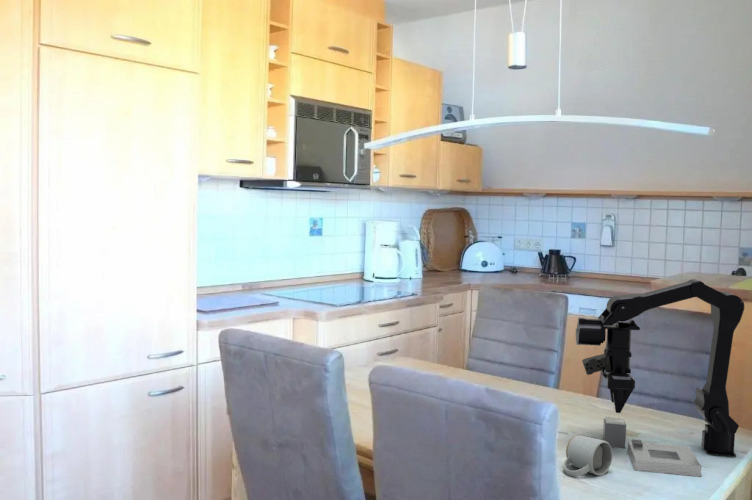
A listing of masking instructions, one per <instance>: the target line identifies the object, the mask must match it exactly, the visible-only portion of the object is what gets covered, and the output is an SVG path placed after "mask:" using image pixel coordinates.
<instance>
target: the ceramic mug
mask: <svg viewBox="0 0 752 500" xmlns="http://www.w3.org/2000/svg"><path fill="white" fill-rule="evenodd" d="M565 456H566V459H565V460H564V461H563V463H562V465H563V466H562V467H563V470H564V473H565V474H567V475H568V476H571V477H574V478H575V477H582V476H584V475H585V474H588V473H590V474H593V475H595V476H598V477H599V476H603V475H605V474H606V473H607V472H608V470H609V469H610V467H611V465H612V460H613V450H612V447H611V446H610V444H609V443H608V442H606V441H603V439H597V438H593V437H589V436H586V435H575V436H574V435H573V436H572V437H571V438H570V439H569V441H568V443H567V445H566V449H565ZM570 464H571V465H572V466H574V467H575V468H578V469H576V470H572V469H571V470H570V469H569V468H568V466H569V465H570Z"/></svg>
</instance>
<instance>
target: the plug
mask: <svg viewBox="0 0 752 500" xmlns="http://www.w3.org/2000/svg"><path fill="white" fill-rule="evenodd" d="M602 425H603V426H602V427H603V429H602V440H603V441H606V442H608V443H609V444H610V446H611V448H615V449H623V450H624V449H626V439H627V437H626V436H627V424H626V421H625V418H624V417H611V416H605V417H604V418H603V424H602Z"/></svg>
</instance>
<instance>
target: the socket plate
mask: <svg viewBox="0 0 752 500" xmlns="http://www.w3.org/2000/svg"><path fill="white" fill-rule="evenodd" d="M627 442H628V443H627V444H628V445H627V452H628V455H629V457H630V460H631V463H632V466H633V468H634V471H639V472H648V473H650V472H651V473H660V474H670V475H681V476H691V477H699V478H701V476H702V465H701V463H700V461H699V460H698V459H697V457H696V456H695V454H694V453H693V451H692V449H691V447H690V446H684V445H674V444H663V443H662V444H661V443H652V442H642V440H641V439H632V441H631V440H630V441H629V440H628V441H627Z"/></svg>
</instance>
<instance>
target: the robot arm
mask: <svg viewBox="0 0 752 500" xmlns="http://www.w3.org/2000/svg"><path fill="white" fill-rule="evenodd" d="M692 298H697V299H699V300H701V301H703V302H705V303H707V304H709V305H710V316H711V321H712V325H713V331H712V339H711V345H710V352H709V358H708V359H709V360H708V367H707V373H706V380H705V381H706V382H705V383H704V385H703V387H702V388H698V387H696V388H695V394H696V395H695V399H694V401H693V404H694V405H695V408H696V410H697V412H698V413H699V414H700V416H702V418H703V420H704V422H705V424H704V430H702V431H701V432H702V433H701V447H702V449H703V450H704V451H705V453H706V454H707V455H710V456H721V457H723V456H724V457H732V458H735V457H736V456H737V454H736V453H735V438H736V437H735V436H736V433H737V431H738V429H739V427H740V426H739V424H738V423H737V421H735V420H734V419H733V418H732V417H731V416H730V407H729V406H730V405H729V403H730V402H729V397H728V392H727V381H728V374H729V367H730V366H729V365H730V360H731V354H732V346H733V339H734V333H735V331H736V329H737V327H738V326H739V324H740V322H741V321H742V317H743V314H744V311H745V303H744V302H745V301H743V299H742V298H741V297H739V296H738V295H736V294H733V293H731V292H727V291H718V290H717V289H715V288H713V287H711V286H709V285H707V284H705V282H703V281H701V280H699V279H695V278H694V279H689V280H687V281H685V282H680V283H676V284H673V285H670V286H666V287H662V288H659V289H655V290H652V291H651V290H650V291H648V292H643V293H633V294H632V293H631V294H629V293H628V294H619V295H613V296H611V297H610V298H609V299H608V301H607V302H606V306H605V307H606V308H605V309H604V310H603V311H602V312H601V314H600V315H599V316H598V317H597V318H586V317H577V324H576V328H575V343H576V345H578V346H598V347H600V346H601V344H604V342H606V347H605V348H604V349H603V353H601V354H597V355H594V356H593V355H592V356H589V357H586V358H583V359H582V361H581V362H582V365H583V368H584V370H585V374H586V375H587V376H589V375H590V376H591V375H593V374H594V373H598V372H601V374H602V376H603V377H604V378H605V379H606V387H607V389H608V390H609V395H610V400H611V402H612V403H614V404H613V405H614V410H615V413H616V414H621V412H622V410H623V408H624V407H625V405H626V403H627V401H628V399H629V397H630V396H631V394H632V393H633V392H634V390H635V388H636V380H635V378H634V377H633V376H632V374H631V372H632V370H631V368H630V366H631V358H632V351H631V345H632V344H631V343H632V331H640V330H641V328H640V326H639V325H638V324H636V321H635V320H634V318H636V317H639V316H640V315H641V314H643V313H645V312H646V311H648V310H651V309H655V308H658V307H659V308H660V307H662V306H666V305H669V304H675V303H678V302H681V301H685V300H689V299H692Z"/></svg>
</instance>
